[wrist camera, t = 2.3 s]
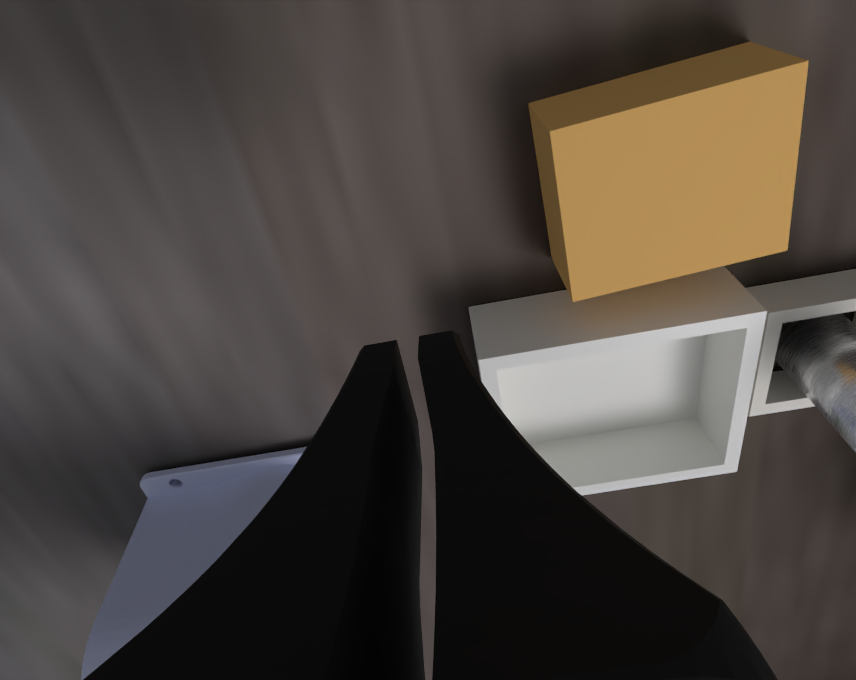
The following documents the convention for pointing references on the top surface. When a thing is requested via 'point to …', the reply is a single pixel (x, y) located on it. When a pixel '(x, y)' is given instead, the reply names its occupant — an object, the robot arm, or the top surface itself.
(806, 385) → the pin
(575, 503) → the robot arm
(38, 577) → the top surface
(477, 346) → the tray
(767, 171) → the block
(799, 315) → the pin bracket
